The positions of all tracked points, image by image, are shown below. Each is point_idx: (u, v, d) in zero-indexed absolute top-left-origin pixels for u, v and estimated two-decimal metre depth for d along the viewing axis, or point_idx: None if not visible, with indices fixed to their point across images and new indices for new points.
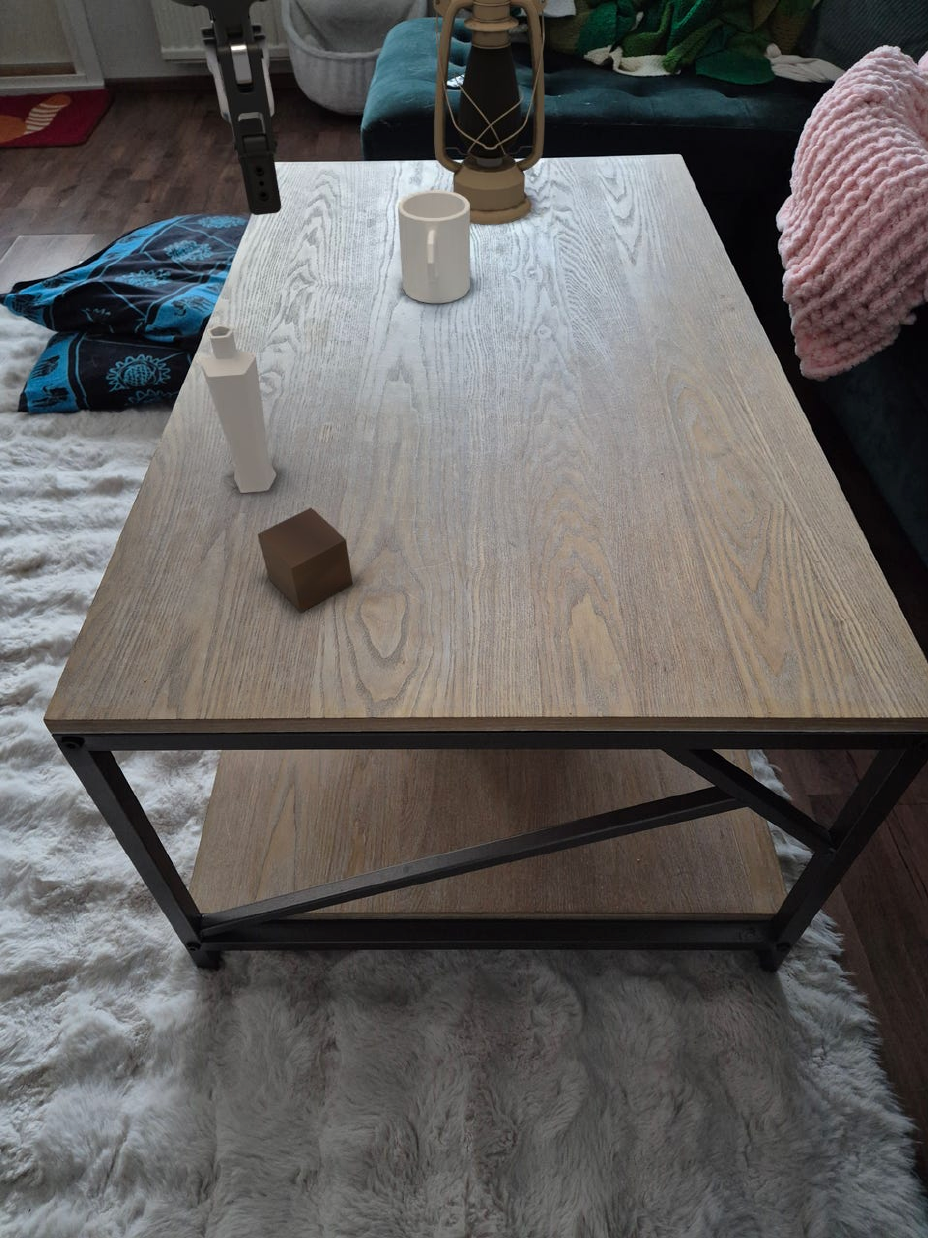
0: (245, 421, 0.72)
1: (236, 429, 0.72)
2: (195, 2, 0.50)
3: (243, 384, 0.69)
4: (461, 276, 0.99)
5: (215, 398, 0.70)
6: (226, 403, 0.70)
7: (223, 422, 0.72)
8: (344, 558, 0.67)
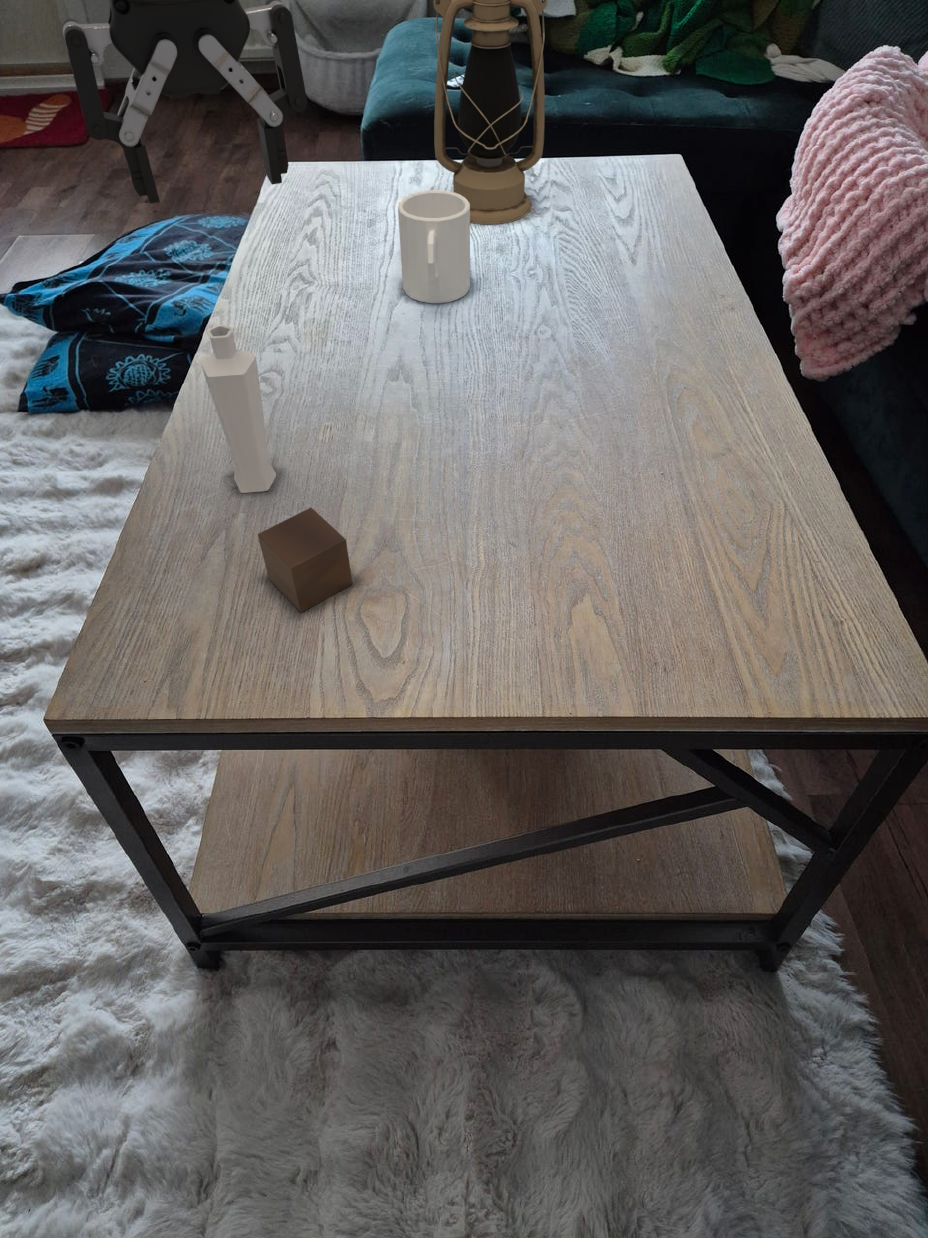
0: (245, 421, 0.72)
1: (236, 429, 0.72)
2: None
3: (243, 384, 0.69)
4: (461, 276, 0.99)
5: (215, 398, 0.70)
6: (226, 403, 0.70)
7: (223, 422, 0.72)
8: (344, 558, 0.67)
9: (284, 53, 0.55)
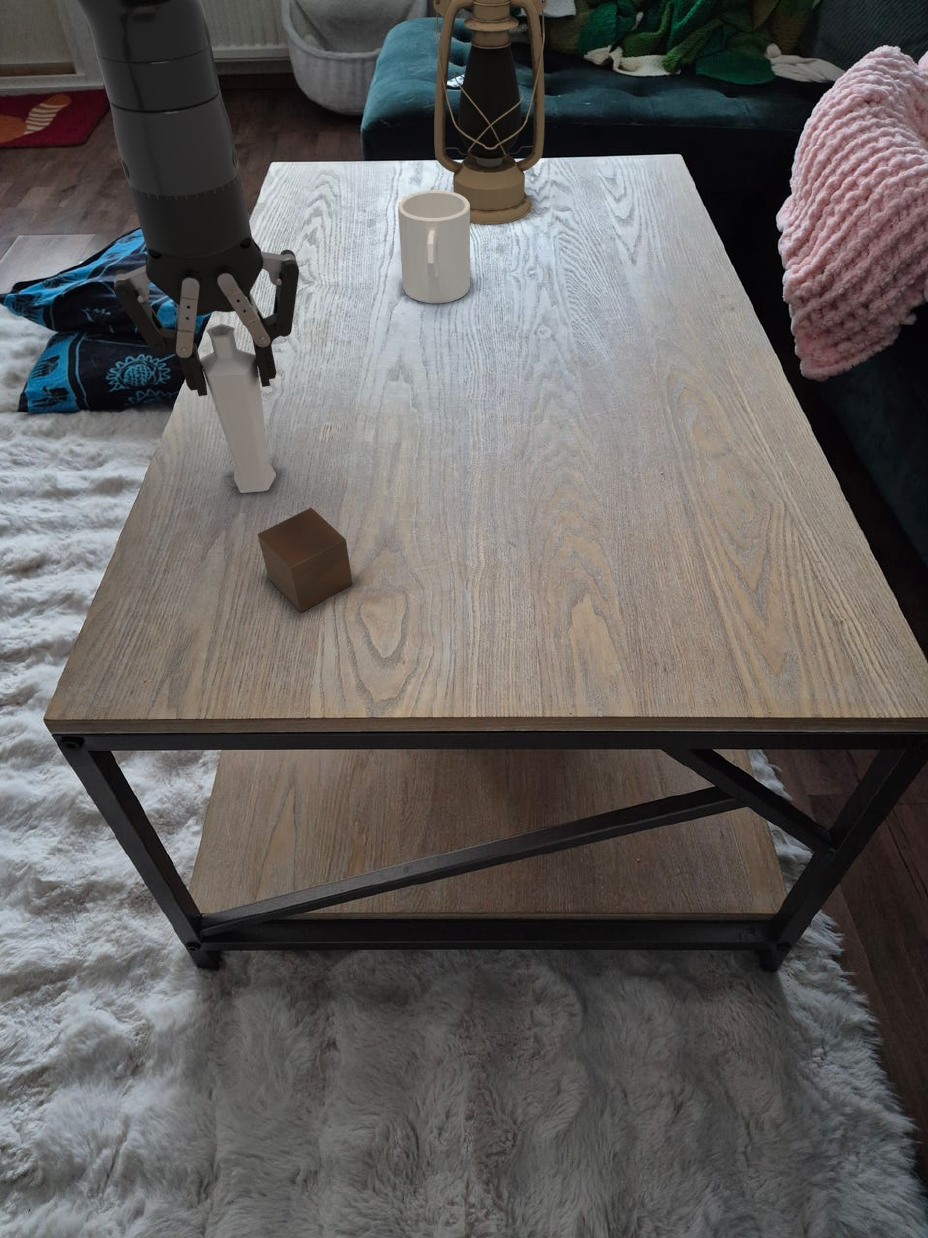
0: (245, 421, 0.72)
1: (236, 429, 0.72)
2: None
3: (244, 384, 0.69)
4: (461, 276, 0.99)
5: (215, 398, 0.70)
6: (226, 403, 0.70)
7: (223, 422, 0.72)
8: (344, 558, 0.67)
9: (284, 294, 0.65)
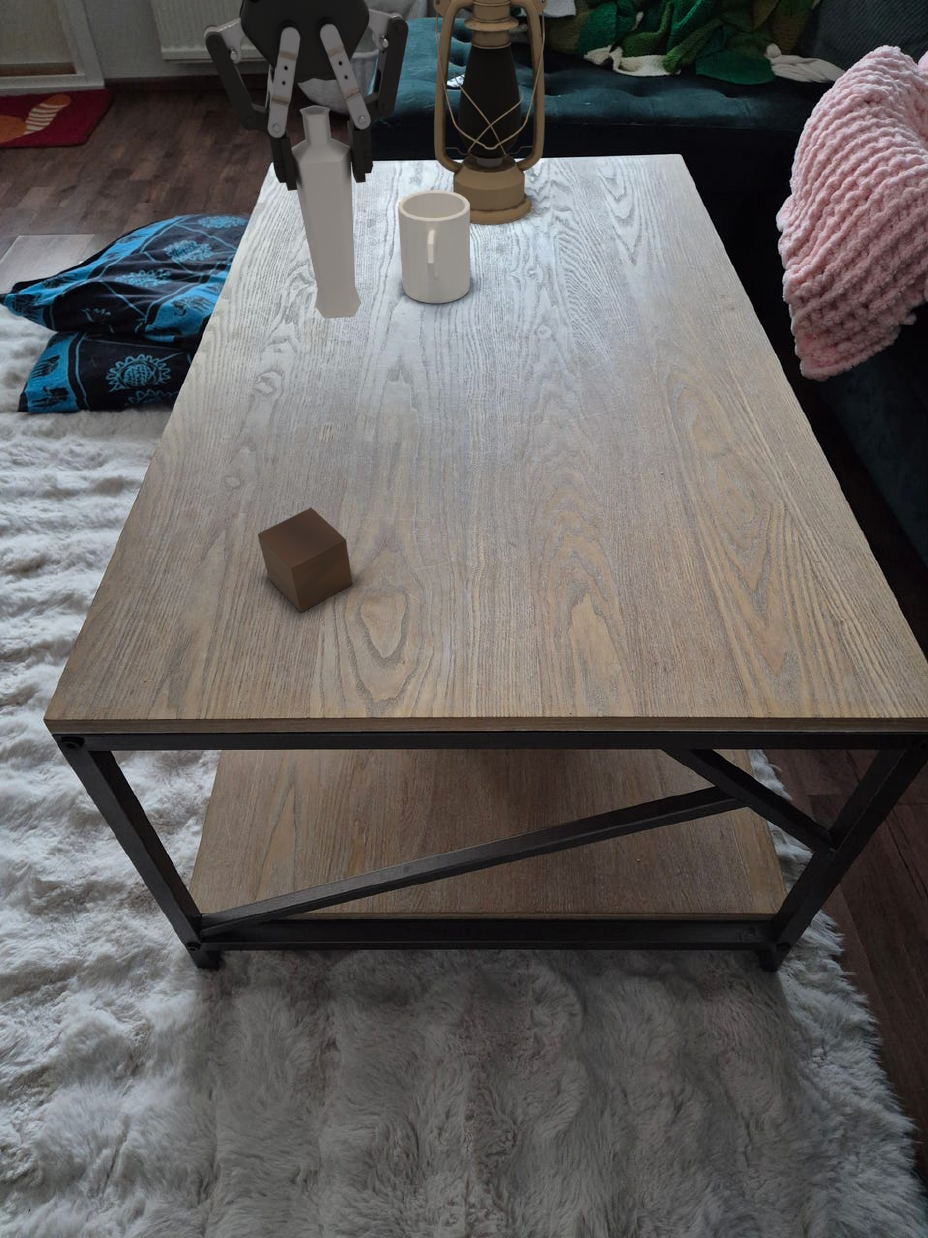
0: (336, 224, 0.65)
1: (326, 234, 0.66)
2: None
3: (338, 175, 0.62)
4: (461, 276, 0.99)
5: (306, 192, 0.63)
6: (318, 199, 0.64)
7: (312, 225, 0.65)
8: (344, 558, 0.67)
9: (389, 60, 0.58)
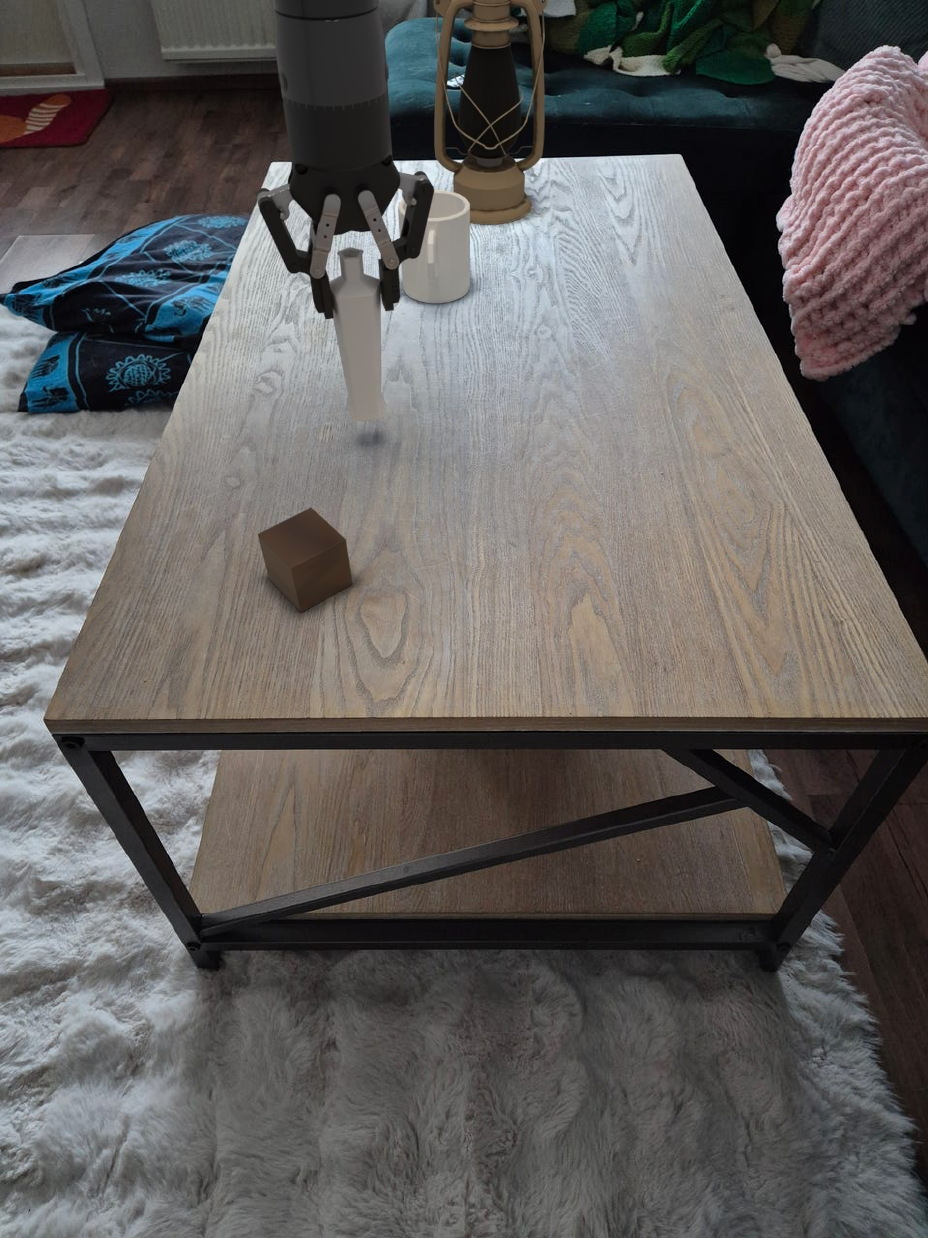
0: (367, 345, 0.74)
1: (358, 353, 0.74)
2: None
3: (370, 307, 0.71)
4: (461, 276, 0.99)
5: (341, 321, 0.72)
6: (351, 326, 0.72)
7: (346, 346, 0.74)
8: (344, 558, 0.67)
9: (417, 214, 0.67)
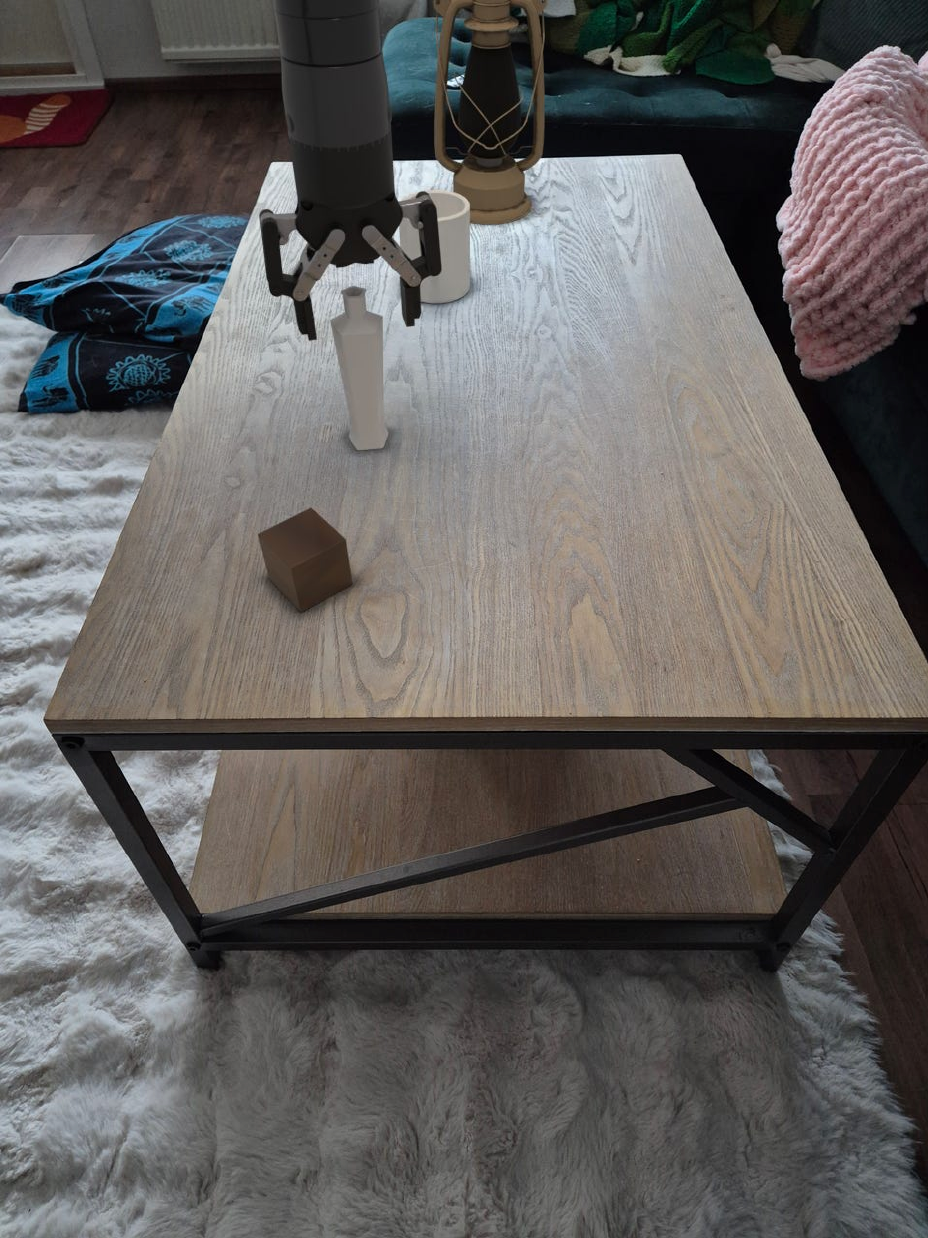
0: (369, 379, 0.76)
1: (361, 387, 0.77)
2: None
3: (373, 343, 0.73)
4: (461, 276, 0.99)
5: (345, 356, 0.74)
6: (354, 361, 0.75)
7: (349, 380, 0.76)
8: (344, 558, 0.67)
9: (427, 235, 0.68)
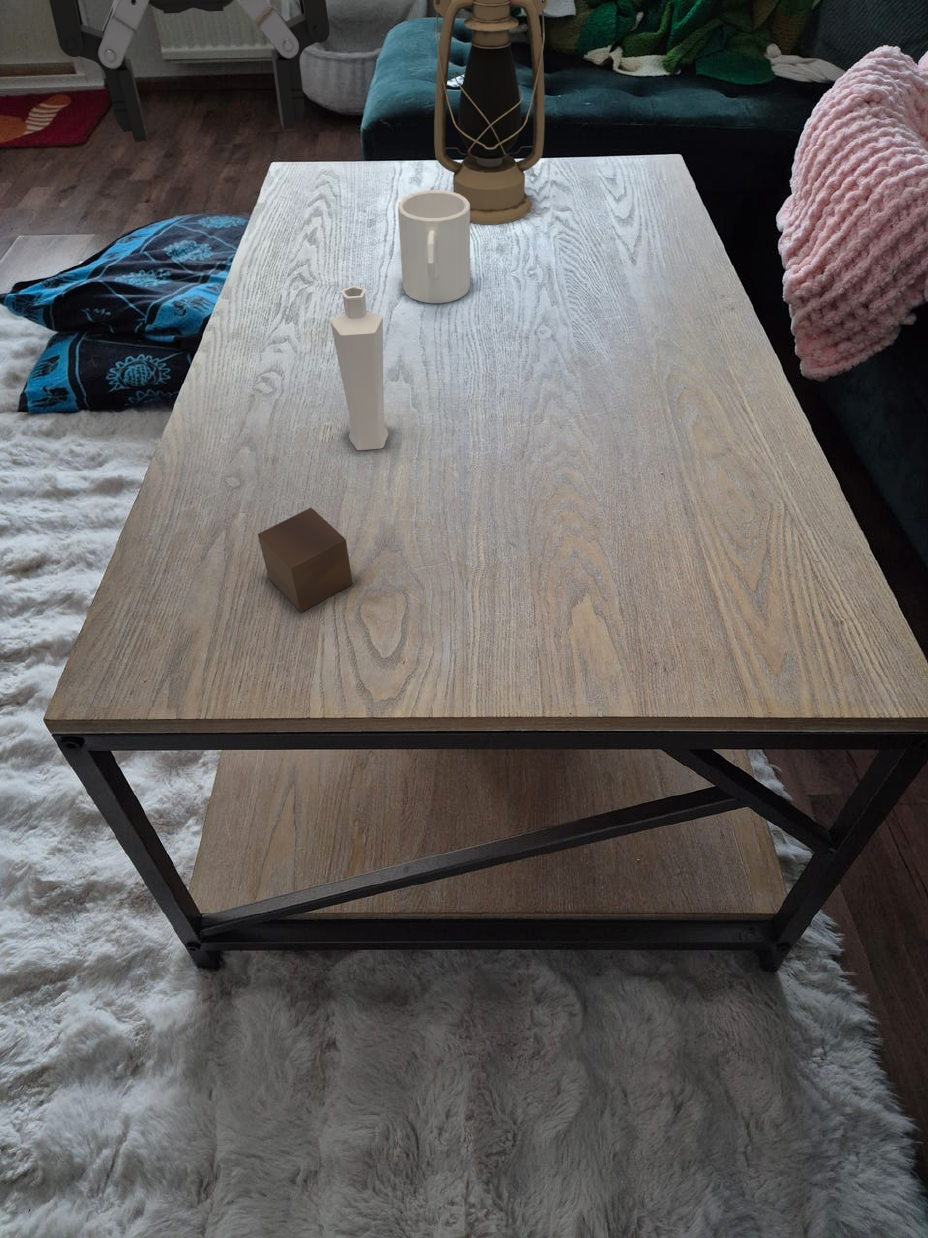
0: (369, 379, 0.76)
1: (361, 387, 0.77)
2: None
3: (373, 343, 0.73)
4: (461, 276, 0.99)
5: (345, 356, 0.74)
6: (354, 361, 0.75)
7: (349, 380, 0.76)
8: (344, 558, 0.67)
9: None
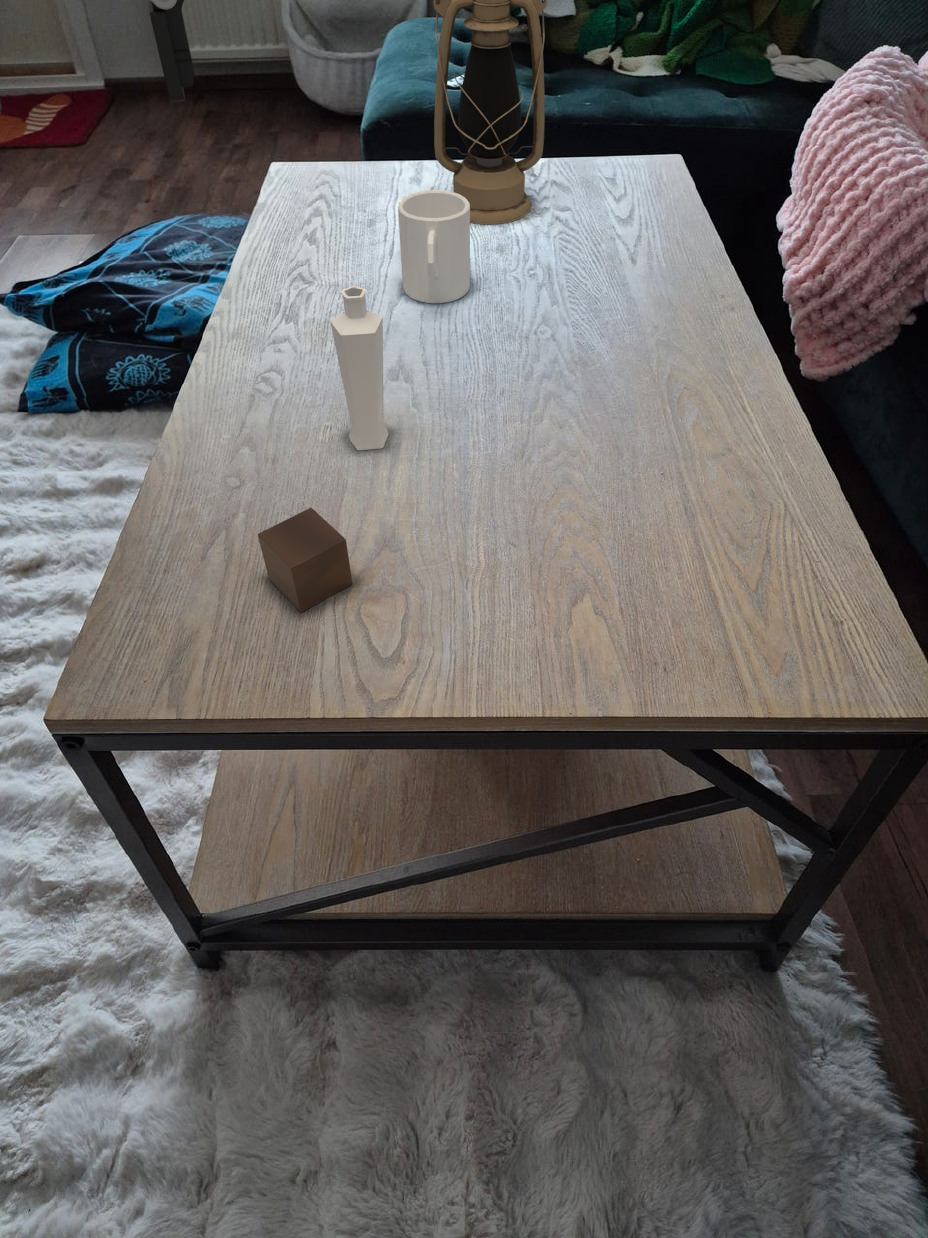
0: (369, 379, 0.76)
1: (361, 387, 0.77)
2: None
3: (373, 343, 0.73)
4: (461, 276, 0.99)
5: (345, 356, 0.74)
6: (354, 361, 0.75)
7: (349, 380, 0.76)
8: (344, 558, 0.67)
9: None
